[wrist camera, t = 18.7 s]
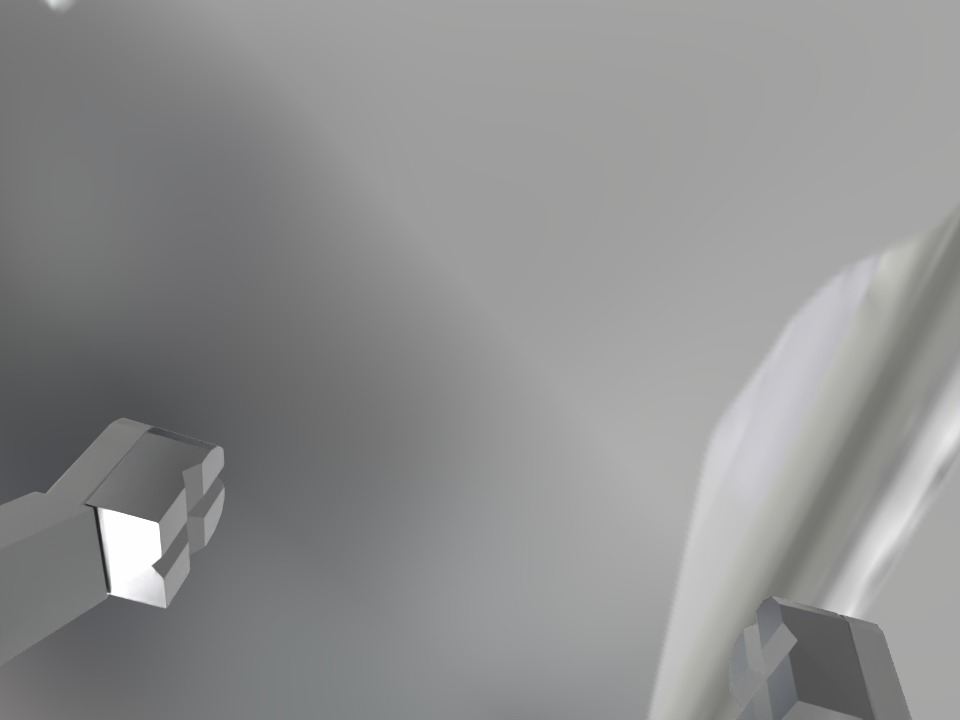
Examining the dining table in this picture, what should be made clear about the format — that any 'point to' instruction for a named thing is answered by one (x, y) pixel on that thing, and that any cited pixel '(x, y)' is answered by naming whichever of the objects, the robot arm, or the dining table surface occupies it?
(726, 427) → the dining table surface
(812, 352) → the dining table surface
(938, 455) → the dining table surface
